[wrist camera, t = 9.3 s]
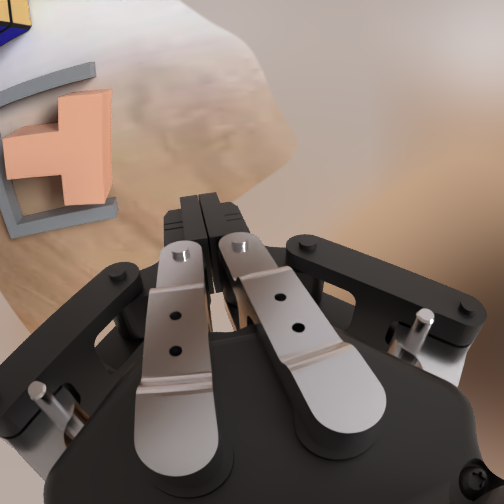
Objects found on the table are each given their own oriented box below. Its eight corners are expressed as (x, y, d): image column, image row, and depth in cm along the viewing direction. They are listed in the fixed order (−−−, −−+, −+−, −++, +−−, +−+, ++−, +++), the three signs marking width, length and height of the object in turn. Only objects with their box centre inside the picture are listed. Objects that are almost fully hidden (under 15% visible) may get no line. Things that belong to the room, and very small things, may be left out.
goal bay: (17, 230, 30) (11, 238, 29) (-17, 100, 21) (-26, 103, 20) (118, 209, 33) (116, 217, 31) (94, 62, 24) (89, 62, 22)
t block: (29, 189, 28) (12, 208, 24) (22, 99, 23) (0, 106, 19) (112, 184, 31) (104, 203, 27) (112, 89, 26) (102, 93, 22)
